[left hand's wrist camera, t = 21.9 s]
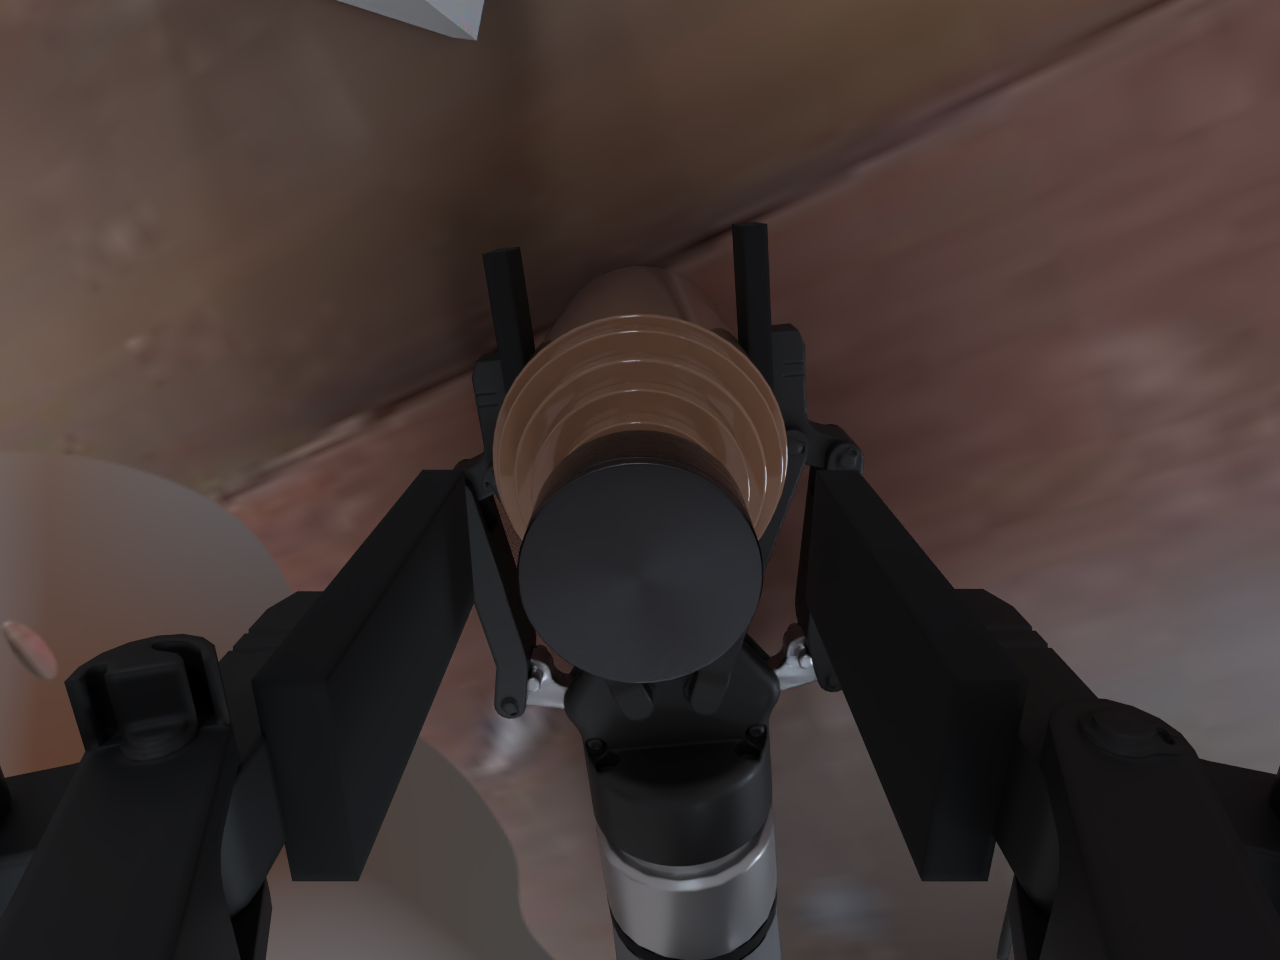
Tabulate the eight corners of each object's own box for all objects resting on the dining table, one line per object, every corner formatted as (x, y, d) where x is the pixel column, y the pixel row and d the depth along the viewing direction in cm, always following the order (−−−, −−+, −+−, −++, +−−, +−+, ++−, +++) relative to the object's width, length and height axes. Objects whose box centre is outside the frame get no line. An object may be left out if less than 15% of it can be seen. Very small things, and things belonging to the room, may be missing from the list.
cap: (741, 628, 15) (755, 685, 13) (535, 626, 15) (521, 682, 13) (755, 430, 14) (772, 464, 12) (528, 427, 14) (511, 461, 12)
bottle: (700, 242, 30) (794, 303, 12) (744, 409, 33) (879, 678, 14) (530, 295, 31) (368, 431, 12) (585, 455, 33) (517, 768, 15)
